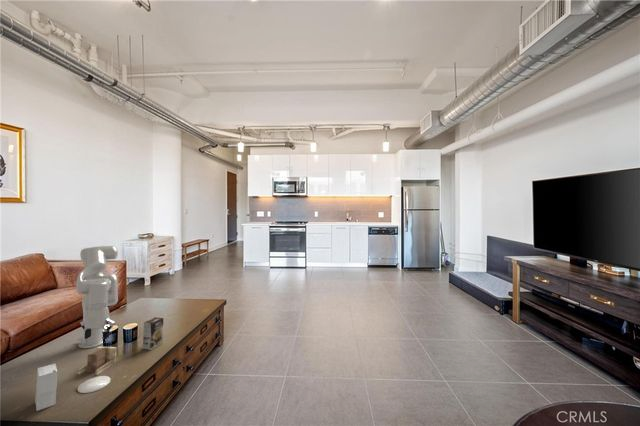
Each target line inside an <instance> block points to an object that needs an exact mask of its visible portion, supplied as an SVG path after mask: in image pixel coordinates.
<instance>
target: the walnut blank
mask: <svg viewBox="0 0 640 426" xmlns="http://www.w3.org/2000/svg"><path fill="white" fill-rule="evenodd" d="M86 364H87V370H86V372H89V373H96V370H97V369H99V368H100V367H102V366H103V365H104V364H106V363H105V350H99V349H96V348H95V349H94V350H92V351H91V352H89V353H88V354H87V362H86Z"/></svg>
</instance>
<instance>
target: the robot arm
mask: <svg viewBox="0 0 640 426" xmlns="http://www.w3.org/2000/svg"><path fill="white" fill-rule="evenodd" d="M117 257H118V248H117V246H114V245H105V246H104V245H101V246H100V245H99V246H93V247H85V248H82V249H81V250H80V260H81V263H82V264H83V267H84V268H83V269H82V270H80V272H79V274H77V277H76V285H75V286H76V288H75V289H76V292H77V294H78V295H82V296H83V295H84V296H83V297H82V298H81V306H82V316H83V317H82V318H83V319H82V321H80V322H79V324H80V325H81V328H82V335H79V336H78V338H77V339H76V341H78V342H80V343H79V344H78V347H79V349H90V348H91V349H92V348H97V347H100V346H101V345H103V344H104V343H103V339H105V340H106V339H108V338H110V332H111V331H110V330H111V329H112V328H113V327H114V325H115V324H116V322H115V321H114V320H111V319H110V310H109V309H110V308H109V307H110V306H115V305H116V304H117V303H118V299H119V294H118V293H119V290H118V286H119V284H118V282H119V281H118V277H117V275H116V274H115V273H104V270H105V269H106V268H107V260H116V259H117ZM102 332H103V333H102ZM102 337H103V339H102Z"/></svg>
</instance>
